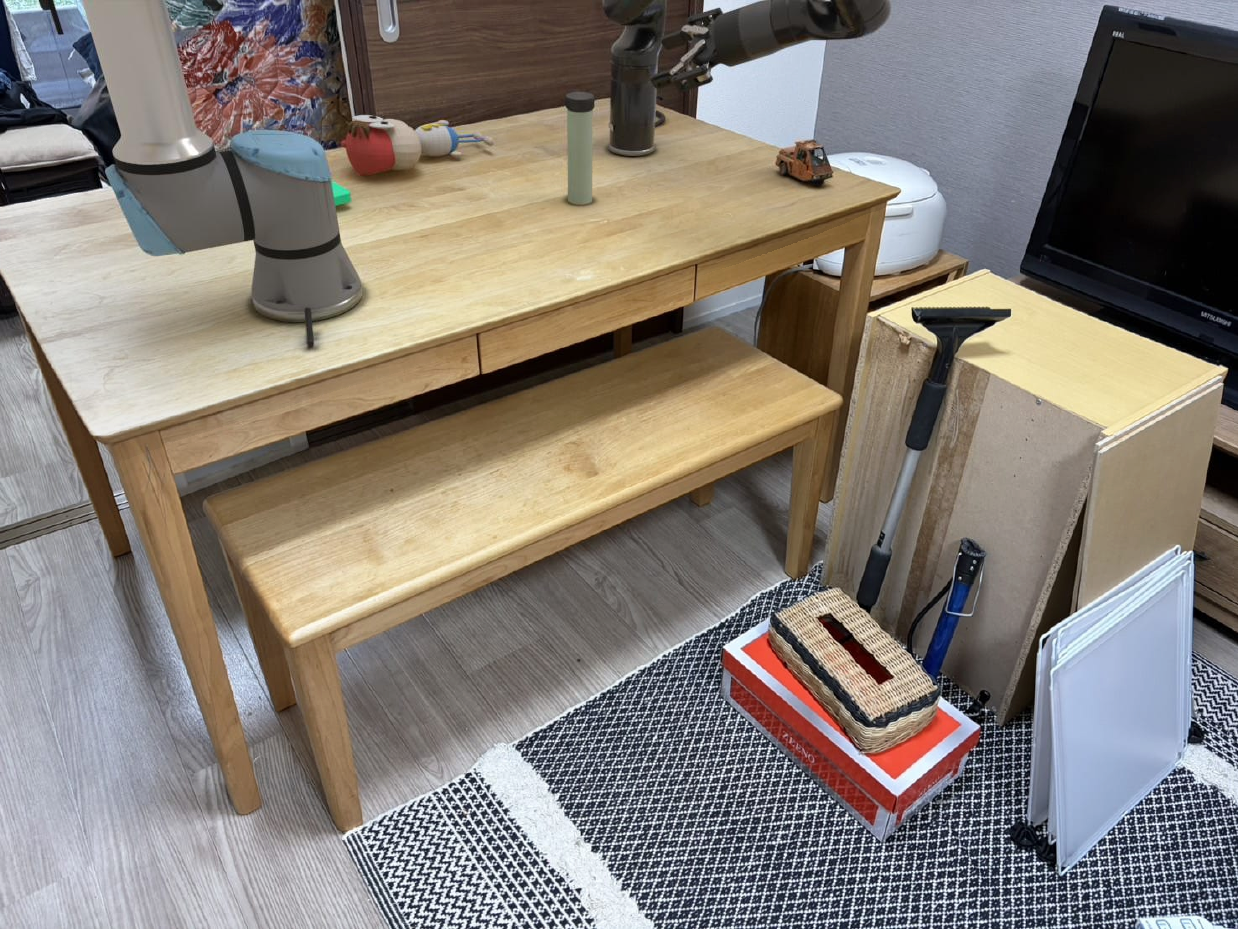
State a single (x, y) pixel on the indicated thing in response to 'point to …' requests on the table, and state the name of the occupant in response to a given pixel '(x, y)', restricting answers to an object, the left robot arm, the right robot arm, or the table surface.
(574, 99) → the lid
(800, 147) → the toy car
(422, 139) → the toy
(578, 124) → the jar
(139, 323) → the table surface
